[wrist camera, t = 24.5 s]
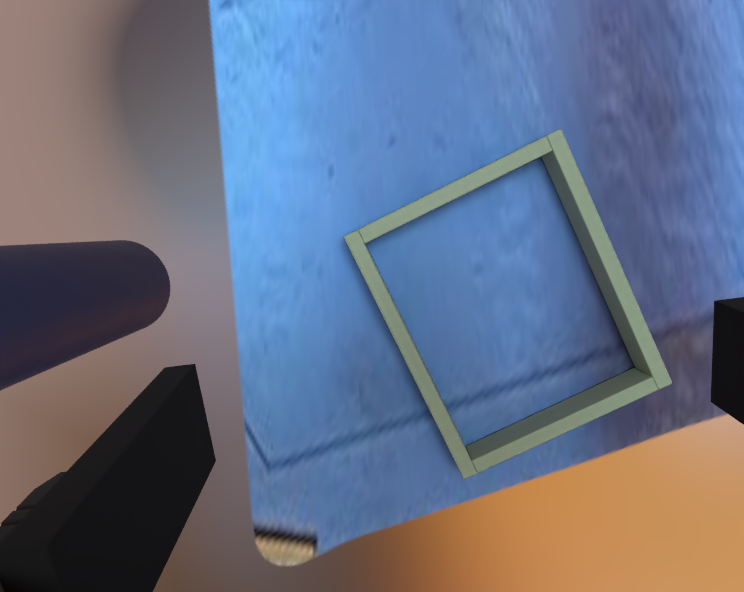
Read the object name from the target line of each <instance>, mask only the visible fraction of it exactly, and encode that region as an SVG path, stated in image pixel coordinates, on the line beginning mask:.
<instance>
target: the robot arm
mask: <svg viewBox="0 0 744 592" xmlns="http://www.w3.org/2000/svg"><path fill="white" fill-rule="evenodd" d="M711 402H712V403H713V404H715V405H716V406H718V407H719V408H721V409H722V410H723V411H725V412H726V413H728V414H729V415H731V416H732V417H734V418H735V419H736V420H738V421H739V422H741V423H742V424H744V297H742V298H734V299H726V300H717V301H714V326H713V354H712V382H711ZM215 461H216V459H215V455H214V450H213V445H212V441H211V436H210V431H209V427H208V422H207V418H206V413H205V408H204V404H203V399H202V394H201V390H200V386H199V380H198V376H197V371H196V367H195V364H191V365H182V366H174V367H166V368H164V369H163V370H162V371H161V372H160V373H159V375H158V376H157V377H156V378H155V379H154V380H153V381H152V382H151V383H150V384H149V385H148V386H147V387H146V388H145V389H144V391H142V393H141V394H140V395H139V396H138V397H137V398H136V399H135V400H134V401H133V402H132V403H131V404H130V405H129V406H128V407H127V408H126V410H125V411H124V412H123V413H122V414H121V415H120V416H119V417H118V418H117V419H116V420H115V421H114V422H113V423H112V424H111V425H110V426H109V427H108V428H107V430H106V431H105V432H104V433H103V434H102V435H101V436H100V437H99V438H98V439H97V440H96V441H95V442H94V443H93V445H91V447H90V448H89V449H88V450H87V451H86V452H85V453H84V454H83V455H82V456H81V457H80V458H79V459H78V460H77V461H76V462H75V463H74V465H73V466H72V467H71V468H70V469H69V470H68V471H67V472H61V473H59V474H57V475H56V476H54V477H53V478H51V479H50V480H48V481H47V482H45V483H43V484H42V485H40V486H39V487H37V488H36V489H34V490H33V491H32V492H31V493H30V494H29V495H28V496H27V498H25V500H24V501H23V502H22V503H21V504H20V505H19V506H18V507H17V510H16V511H13V512H12V513H11V514H10V515H9V516H8V517H7V518H6V519H5V520H4V521H3V522H2V523H1V527H0V592H153V590H154V588H155V586H156V583H157V581H158V579H159V577H160V575H161V573H162V571H163V569H164V567H165V565H166V563H167V561H168V559H169V557H170V554H171V552H172V550H173V548H174V546H175V544H176V542H177V540H178V538H179V536H180V534H181V532H182V530H183V528H184V526H185V523H186V521H187V519H188V517H189V515H190V513H191V511H192V509H193V507H194V505H195V503H196V501H197V499H198V496H199V495H200V492H201V490H202V488H203V486H204V484H205V482H206V480H207V478H208V476H209V474H210V472H211V470H212V468H213V466H214V464H215Z"/></svg>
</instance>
